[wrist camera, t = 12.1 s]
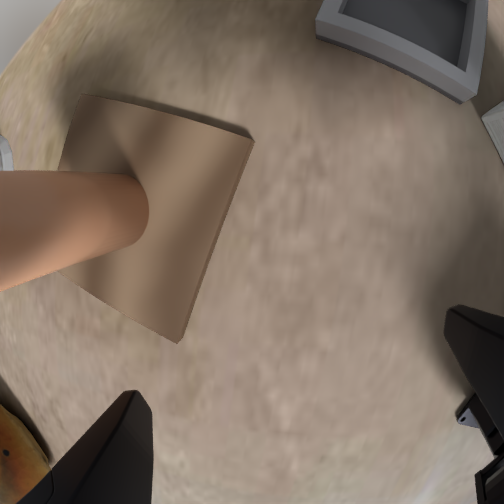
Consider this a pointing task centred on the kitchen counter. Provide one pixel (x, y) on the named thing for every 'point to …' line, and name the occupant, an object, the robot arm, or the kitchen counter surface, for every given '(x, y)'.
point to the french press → (5, 155)
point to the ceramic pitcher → (18, 459)
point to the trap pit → (414, 38)
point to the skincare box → (496, 127)
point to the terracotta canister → (65, 220)
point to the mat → (156, 205)
